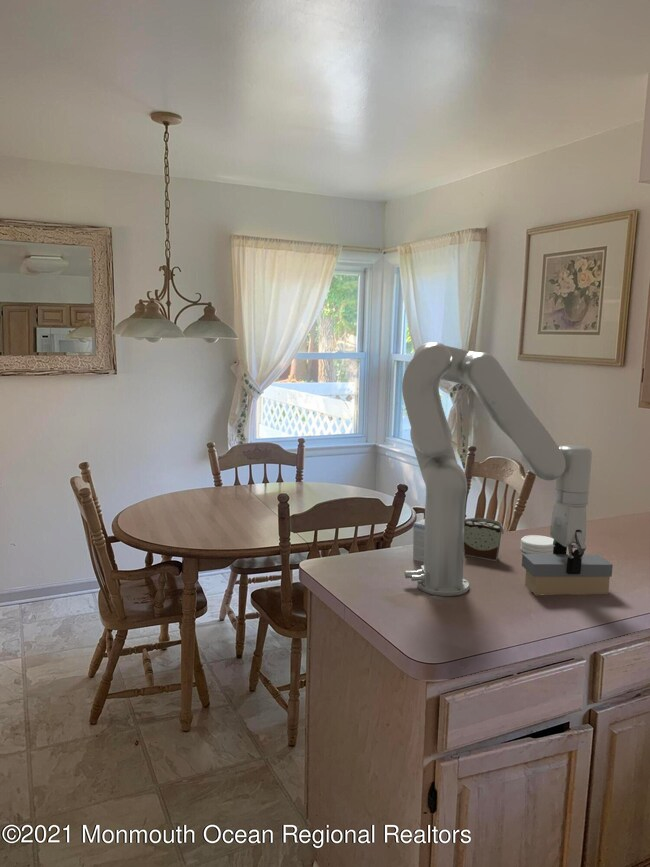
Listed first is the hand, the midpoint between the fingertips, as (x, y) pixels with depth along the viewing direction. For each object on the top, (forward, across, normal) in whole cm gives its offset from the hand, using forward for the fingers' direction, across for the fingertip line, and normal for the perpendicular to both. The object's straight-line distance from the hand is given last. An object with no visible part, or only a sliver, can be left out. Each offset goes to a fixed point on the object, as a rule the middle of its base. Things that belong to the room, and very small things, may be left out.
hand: (566, 567), depth 154 cm
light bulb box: (+6, -25, -27) cm, 38 cm away
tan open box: (+6, 0, 0) cm, 6 cm away
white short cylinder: (+6, -29, +5) cm, 30 cm away
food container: (+6, -26, -12) cm, 29 cm away
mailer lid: (+1, 0, 0) cm, 1 cm away
